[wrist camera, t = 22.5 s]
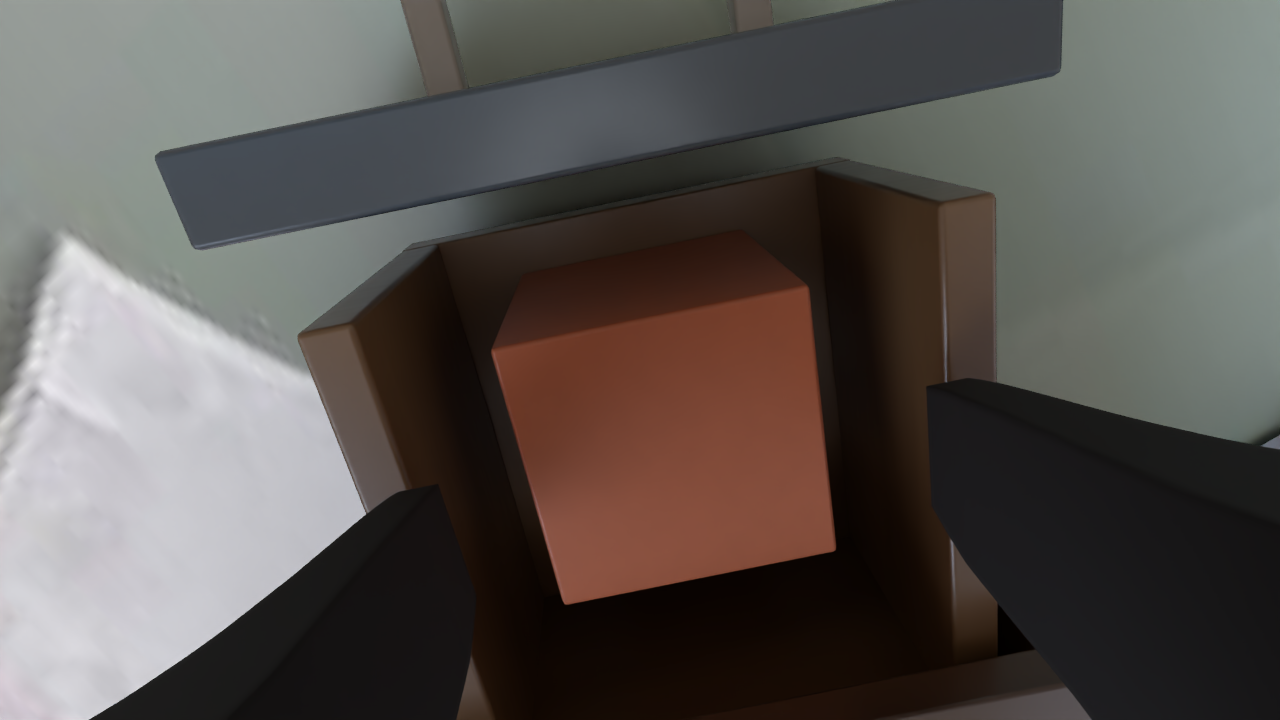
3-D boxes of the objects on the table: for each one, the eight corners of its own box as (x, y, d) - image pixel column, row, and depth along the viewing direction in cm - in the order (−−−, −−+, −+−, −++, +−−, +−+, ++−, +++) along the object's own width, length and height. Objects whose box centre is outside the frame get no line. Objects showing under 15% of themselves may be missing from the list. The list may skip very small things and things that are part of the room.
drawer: (257, -133, 13) (-78, -366, 6) (837, -253, 13) (1084, -613, 6) (500, 603, 19) (453, 857, 12) (891, 525, 19) (1044, 741, 12)
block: (521, 273, 15) (488, 349, 10) (742, 228, 15) (810, 284, 10) (571, 468, 16) (562, 608, 12) (770, 428, 16) (838, 552, 12)
